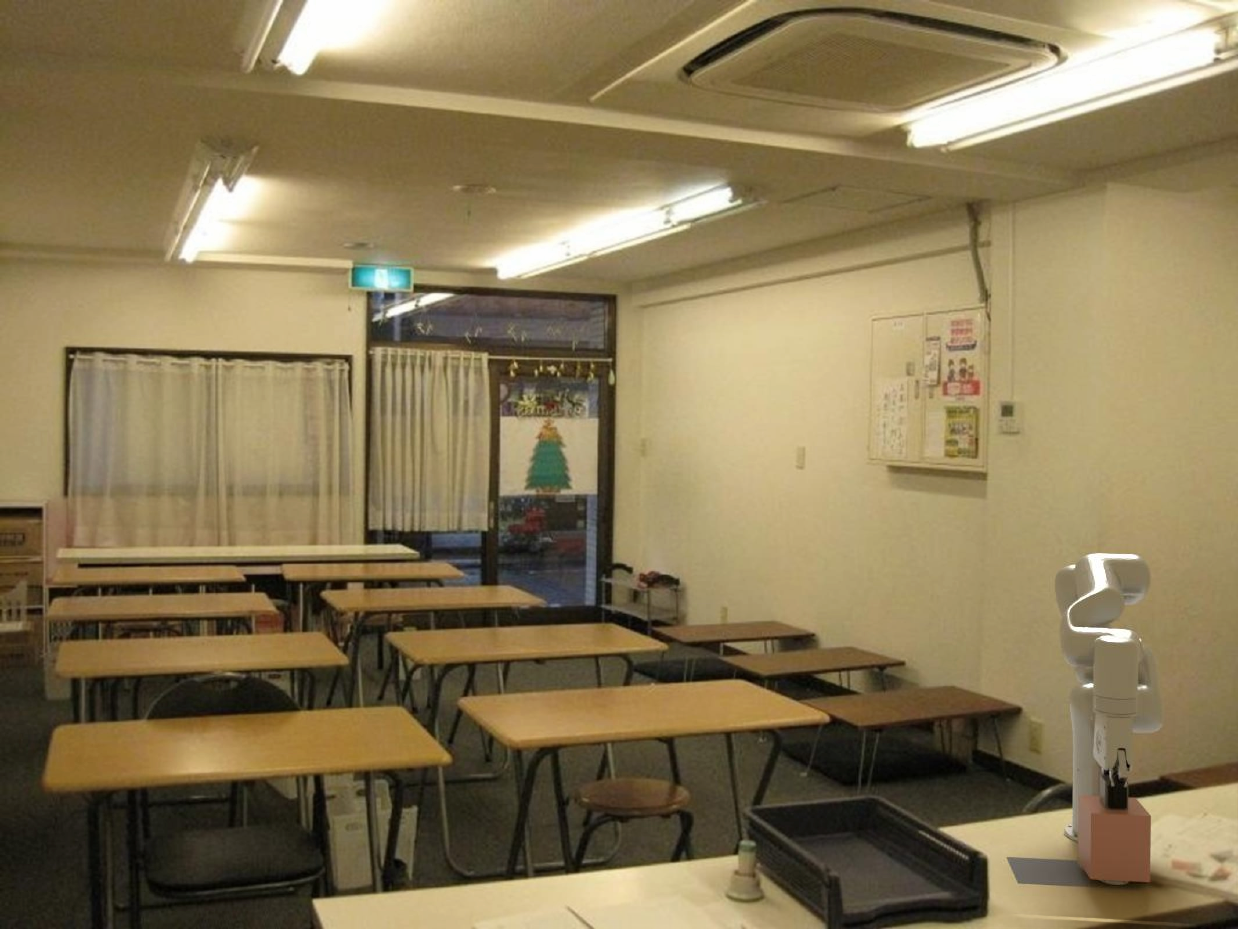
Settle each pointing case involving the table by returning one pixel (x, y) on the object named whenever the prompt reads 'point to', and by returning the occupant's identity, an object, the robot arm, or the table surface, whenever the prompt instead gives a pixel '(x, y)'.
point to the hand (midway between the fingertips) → (1113, 802)
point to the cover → (1113, 838)
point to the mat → (1048, 872)
